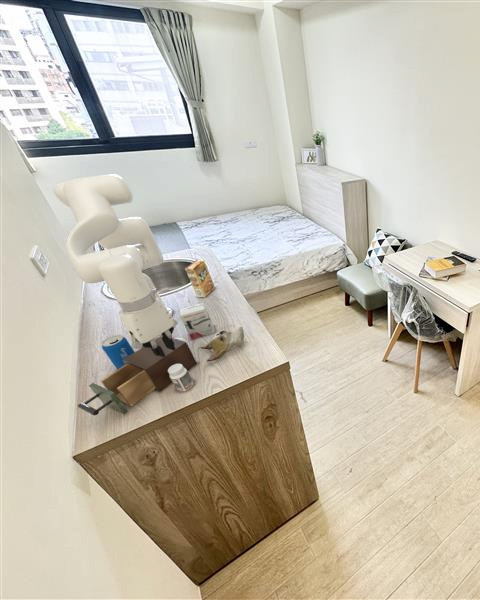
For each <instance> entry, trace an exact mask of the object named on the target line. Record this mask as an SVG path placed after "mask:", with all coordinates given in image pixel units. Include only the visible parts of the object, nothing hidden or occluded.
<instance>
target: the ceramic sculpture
mask: <svg viewBox="0 0 480 600" xmlns="http://www.w3.org/2000/svg"><path fill="white" fill-rule="evenodd" d="M244 339H245V333H244V329H243V326H239V327H235V328H234V329H233V330H231V331H228V330H221V331H219V333H217V334H215V335H213V336H212V337H211V339H210V340H209V342H208V343H207V344H206V345H204V346H203V345H202V346H201V347H200V349H201V350H206V351H207V350H209V351H210V350H212V351H213V352H212V353H210V356H209V357H208V359H207V360H206V362H208V363H209V362H213V361H217V360H220V359H221V358H222V357H223V356H224V355H225V354H226V353H227V352H230V351H231V350H233V349H234V348H237V347H243V346H244V341H245V340H244Z"/></svg>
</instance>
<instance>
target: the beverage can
mask: <svg viewBox="0 0 480 600" xmlns="http://www.w3.org/2000/svg"><path fill="white" fill-rule="evenodd" d="M101 349H102V350H103V352H104V353H105V354H106V356H107V357H108V358H109V360H110V362H111V363H112V364H113V366H114V367H115V369H116V370H118V369H119V368H121V367H122V366H124V365H125V363H124V361H123V359H125V358H127V357H128V356H130V355H131V354H133V353H135V352H136V351H135V349H134V348H132V344H130V342H129V341H128V339H127V337H126V336H123V335H122V334H114V335H112V336H108V337H107V338H105V339H103V340H102V341H101Z"/></svg>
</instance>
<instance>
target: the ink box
mask: <svg viewBox="0 0 480 600" xmlns="http://www.w3.org/2000/svg"><path fill="white" fill-rule="evenodd" d="M178 312H179V317H180V320H181V322H182V323H183V325H184V328H185V330H186V332H187V333H188V336H189V338H190V340H192V341H193V340H195V339H198V338H201V337H204V336H208V335H211V334H214V333H216V332H215V326H214V323H213V321H212V319H211V317H210V314H209V311H208V309H207V306H206V305H205V303H203V302H200V303H198V304H194V305H189V306H187V307H186V306H185V307H184V308H180V309H179V311H178Z"/></svg>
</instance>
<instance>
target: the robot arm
mask: <svg viewBox="0 0 480 600" xmlns="http://www.w3.org/2000/svg"><path fill="white" fill-rule="evenodd" d="M52 190H53V193H54V195H55V197H56V198H57V199H58V201H60V202H61V203H62V204H64V205H65V206H66V207H68V208H70V209H71V210H70V211H71V212H72V214H73V217H74V219H75V221H76V224H75V225H74V226H73V228H72V229H71V230H70V232H69V234H68V236H67V238H66V240H65V252H66V255H67V257H68V260H69V262H70V264H71V266H72V269H73V271H74V273H75V274H76V276H77V277H78V278H79V280H81V281H82V282H84V283H87V284H98V283H102V282H105V284H106V285H107V287H108V288H109V290H110V292H111V293H112V295H113V297H114V299H115V300H116V302H117V303H118V306H120V309H121V310H120V311H119V316H120V319H121V322H122V326H123V327H124V329H125V331H126V334H127V335H128V337H129V339H131V347H132V349H133V350H139V349H141V348H143V347H146V348H151V350H152V351H153V353H154V354H155V355H156V356H161V357H165V354H164V352H163V350H162V348H161V347H160V346H158V345H157V344H156V342H155V339H156V337H157V338H158V336H163V337H162V340H163V342H164V344H165V346H166V347H167V348H168V349H171V350H175V349H176V348H175V346H174V345H175V344H174V342H173V340H172V337H173V338H174V336H173V334H174V331H175V328H176V327H177V326H178V325H179V321H178V320H176V319H175V318H173V317H172V315H173V310H172V308H170V307H168V306H165V304H164V301H163V300H162V298H161V296H160V294H159V292H158V289H157V288H156V286H155V284H154V282H153V281H152V278H151V277H150V276H149V275H148V274H146V273H144V272H143V270H146V269H149V268H155V267H158V266H161V264H163V262H164V256H163V253H162V251H161V249H160V246H159V244H158V242H157V240H156V238H155V235H154V233H153V231H152V229H151V228H150V226H149V224H148V223H147V222H146V220H145V219H143V218H141V217H139V216H132V217H126V218H121V219H120V218H119V217H118V215H117V213H116V212H115V210H114V208H113V206H118V205H124V204H125V205H126V204H131V203H132V202H133V199H134V195H133V192H132V189H131V188H130V186H129V184H128V183H127V181H126V180H125V179H124V178H123V177H122V176H120V175H119V174H103V175H102V174H101V175H93V176H85V177H78V178H77V177H76V178H72V179H70V180H67V181H62V182H58V183H56V184H55V185H54V186H53V188H52ZM96 243H97V244H99V246H100V247H102V248H103V250H98V251H94V252H89V253H87V251H88V250H89V249H90V248H91V247H92V246H94V245H95V244H96Z"/></svg>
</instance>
